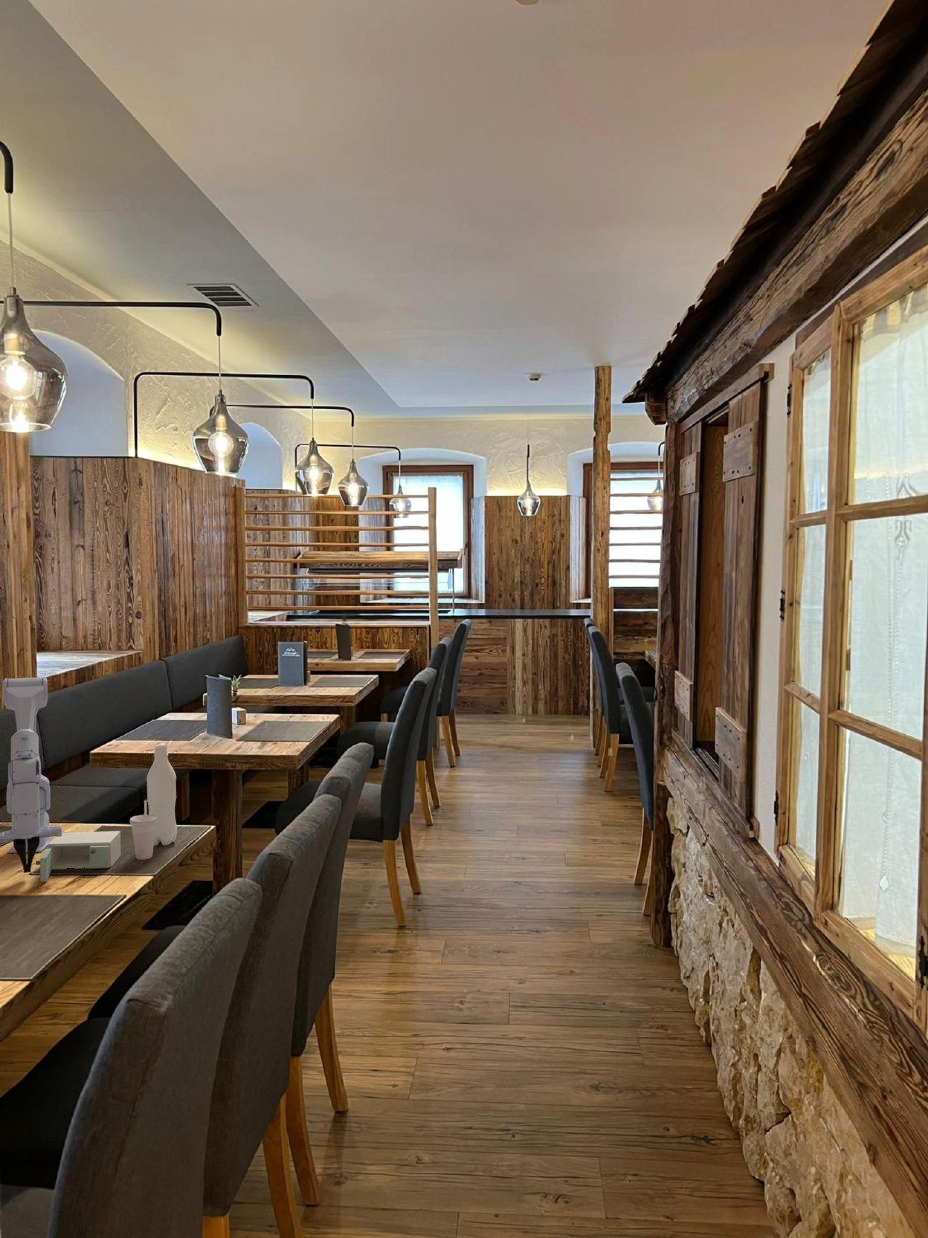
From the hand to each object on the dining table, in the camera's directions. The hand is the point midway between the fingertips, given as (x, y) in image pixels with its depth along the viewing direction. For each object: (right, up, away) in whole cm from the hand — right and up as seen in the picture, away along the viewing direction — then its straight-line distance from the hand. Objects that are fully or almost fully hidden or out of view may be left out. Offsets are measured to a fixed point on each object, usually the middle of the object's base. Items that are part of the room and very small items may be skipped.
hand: (27, 871), depth 204 cm
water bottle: (+21, -1, +27) cm, 35 cm away
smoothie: (+21, -1, +16) cm, 26 cm away
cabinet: (+8, -1, +11) cm, 14 cm away
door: (+3, -1, +2) cm, 4 cm away
